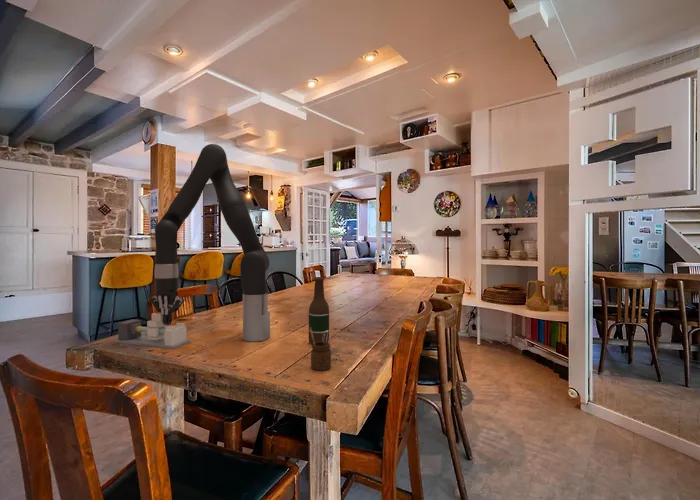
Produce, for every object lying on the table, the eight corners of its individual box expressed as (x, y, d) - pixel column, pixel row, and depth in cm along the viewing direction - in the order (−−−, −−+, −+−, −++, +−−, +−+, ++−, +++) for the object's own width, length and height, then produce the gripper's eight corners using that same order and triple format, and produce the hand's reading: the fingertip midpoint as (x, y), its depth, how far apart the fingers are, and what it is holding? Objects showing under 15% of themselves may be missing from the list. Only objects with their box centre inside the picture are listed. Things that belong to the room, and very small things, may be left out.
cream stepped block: (166, 336, 127) (166, 312, 127) (156, 340, 123) (156, 315, 122) (158, 335, 128) (157, 311, 128) (147, 339, 124) (147, 314, 123)
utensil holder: (331, 370, 100) (331, 329, 100) (309, 371, 99) (309, 329, 99) (330, 363, 106) (331, 324, 105) (310, 363, 105) (310, 324, 105)
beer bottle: (333, 340, 129) (333, 276, 128) (323, 346, 122) (323, 279, 121) (315, 338, 132) (315, 275, 132) (304, 343, 125) (304, 277, 124)
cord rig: (190, 342, 126) (190, 322, 126) (173, 348, 119) (173, 328, 118) (133, 336, 133) (133, 318, 133) (114, 342, 126) (114, 322, 125)
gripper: (189, 275, 125) (190, 323, 126) (159, 274, 129) (160, 320, 129) (174, 278, 118) (174, 328, 119) (142, 276, 121) (143, 325, 122)
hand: (167, 324), depth 124 cm, fingers closed
